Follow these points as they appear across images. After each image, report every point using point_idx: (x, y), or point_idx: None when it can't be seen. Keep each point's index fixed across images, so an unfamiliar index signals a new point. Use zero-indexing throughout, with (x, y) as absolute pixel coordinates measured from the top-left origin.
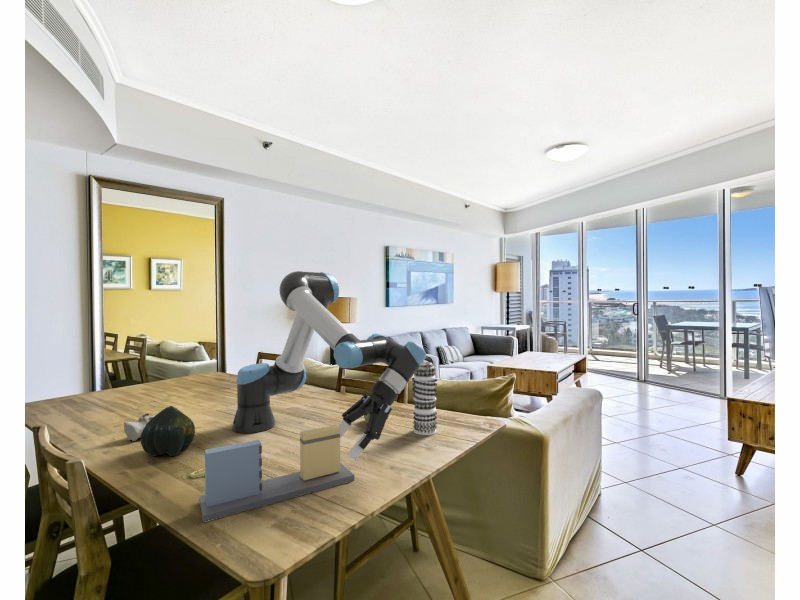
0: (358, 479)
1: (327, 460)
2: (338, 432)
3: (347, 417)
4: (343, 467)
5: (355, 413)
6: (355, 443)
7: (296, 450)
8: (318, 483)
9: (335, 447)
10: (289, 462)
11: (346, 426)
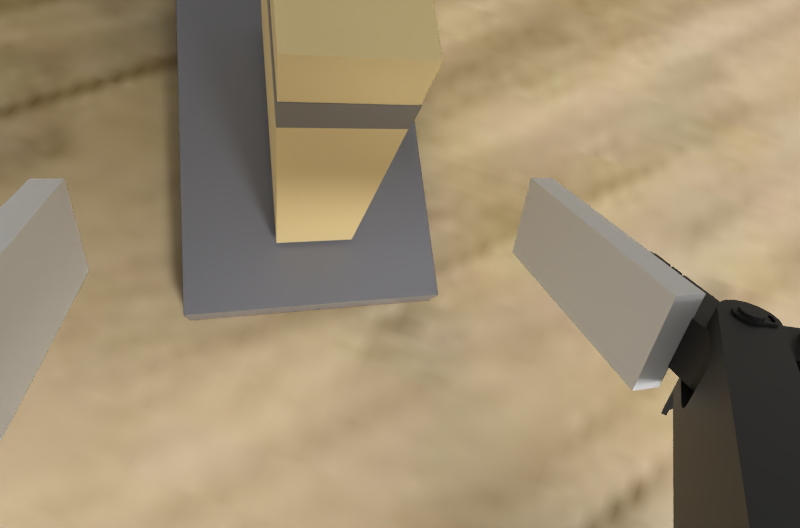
0: (193, 351)
1: (269, 110)
2: (276, 73)
3: (721, 344)
4: (338, 288)
5: (728, 470)
6: (9, 241)
7: (726, 162)
8: (192, 82)
9: (273, 128)
10: (592, 88)
11: (624, 338)
